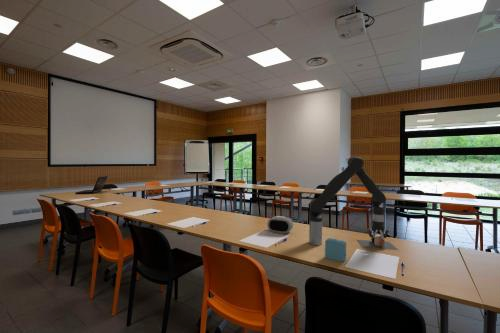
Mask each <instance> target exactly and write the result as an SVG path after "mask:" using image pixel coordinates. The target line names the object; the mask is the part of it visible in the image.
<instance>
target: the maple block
mask: <svg viewBox="0 0 500 333" xmlns="http://www.w3.org/2000/svg"><path fill="white" fill-rule="evenodd" d="M372 234H373V232H371V235H372ZM370 241H372V237H370ZM385 242H386V240H385V238H384V239H383V238H382V237H381V236H380V234H376V235H375V237H374V244H375V245H376V246H383V247H384V243H385Z"/></svg>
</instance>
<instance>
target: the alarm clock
mask: <svg viewBox="0 0 500 333" xmlns="http://www.w3.org/2000/svg"><path fill="white" fill-rule="evenodd" d="M266 224H267V229H268V231H269V232H272V233H275V234H280V235H282V234H284V235H286V234H288V233H290V232H291V231H292V229H293V227H294V221H293V219H291V218H290V217H286V216H281V215H275V216H272V217H271V218H270V219H268V220H267V223H266Z"/></svg>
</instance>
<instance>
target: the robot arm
mask: <svg viewBox="0 0 500 333" xmlns="http://www.w3.org/2000/svg"><path fill="white" fill-rule="evenodd" d="M364 162H365V161H364V159H363V158H362V157H358V156H350V157H349V158H348V160H347V166H346V168H345V169H344V170H343V171H341V172H339V173H338V174H337V175H335V176H334V177H333V178H331V180H329V182H328V183H327V184H326V186H325V188H324V189H323V191H322V192H321V194H319V196H318V197H317V198H313V199H312V200H310V202H309V206H308V209H309V211H308V212H309V214H308V216H309V230H308V243H309V245H313V246H321V245H322V244H323V209H325V208H324V207H325V206H326V205H327V204H328V203H329V201H331V199H332V198H334V197H335V196H336V194H337V193H338V192H340V191H341V189H343V188H344V186H345V185H346V184H347V183H348V182H349V181H350V180H351V178H353V176H354V175H357V177H358V178H359V180H360V181H361V183H362V184H363V186H364V188H365V189H366V190H367V192H368V193H370V194H371V198H370V199H371V205H372V217H371V220H372V223H371V225H372V226H371V227H370V228H369V227H368V228H367V232H368V236H369V237H370V238H371V237H372V240H371V241H372V242H373V243H374V237H375V235H376V234H379V235H380V236H381V237H382V238H383V239H384V240H385V239H387V237H388V233H389V230H388V229H386V228H384V227H385V225H384V224H385V216H384V215H385V214H384V212H385V208H384V207H383V206H382V204H384V203H386V200H387V197H386V195H385V193H384V192H383V191H381V189H379V187H378V186H377V184H376V183H375V181H374V180H373V179H372V177H370V176H369V174H367V172H366V171H365V169H364V168H363V167H364V164H365V163H364ZM383 232H384V233H383ZM371 233H373V234H372V235H371Z"/></svg>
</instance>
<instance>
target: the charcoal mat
mask: <svg viewBox="0 0 500 333" xmlns="http://www.w3.org/2000/svg"><path fill="white" fill-rule="evenodd" d="M356 242H357V243H358V245H359V246H360V248H362V249H363V248H364V249H377V250H378V249H379V250H389V251H392V250H393V251H399V249H398V248H397V247H396V246H395V245H394V244H392V243H391V242H390V241H385V243H384V247H383V246H376V245H375V244H374V243H373V242H372V240H369V239H368V240H367V239H365V240H364V239H356Z"/></svg>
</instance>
